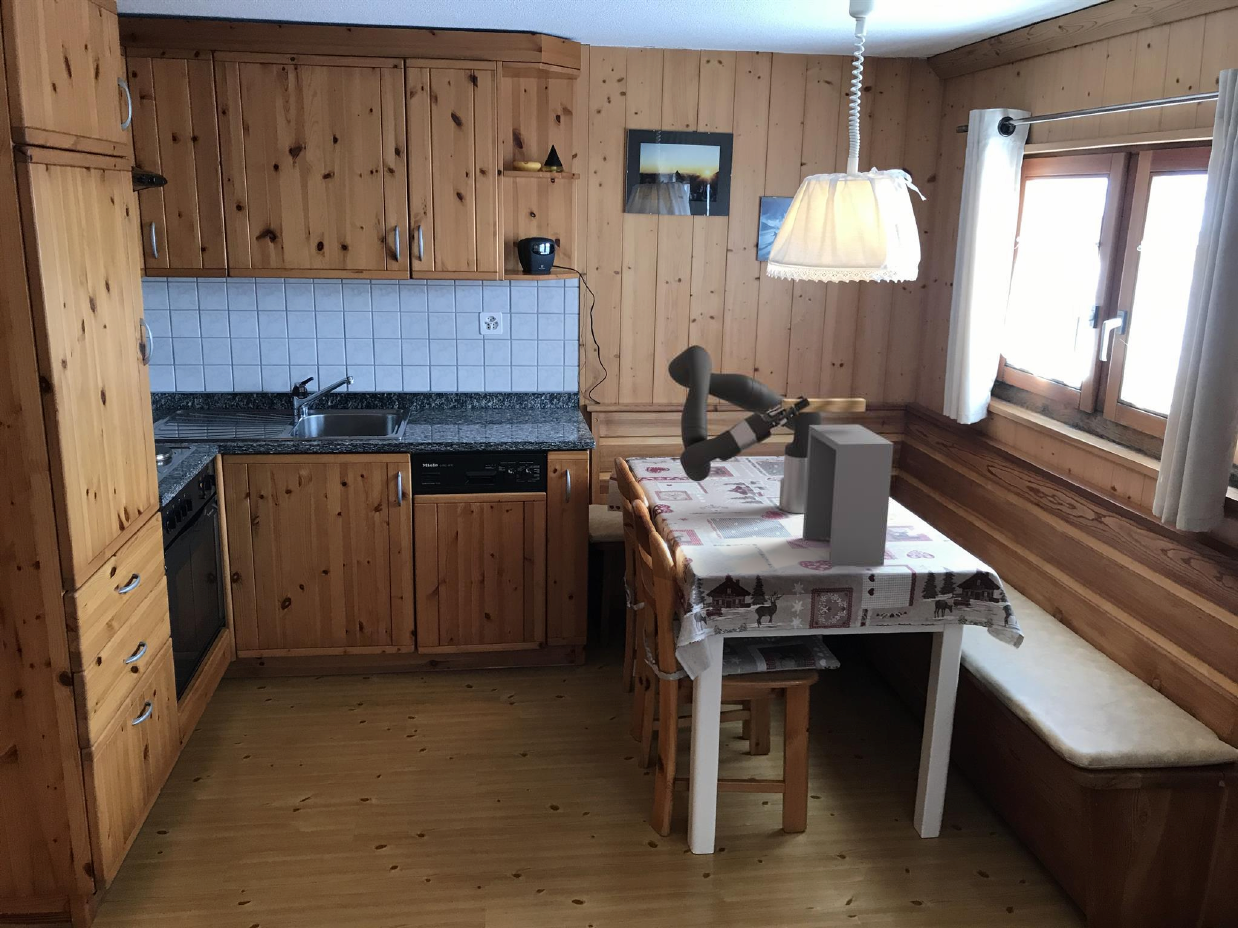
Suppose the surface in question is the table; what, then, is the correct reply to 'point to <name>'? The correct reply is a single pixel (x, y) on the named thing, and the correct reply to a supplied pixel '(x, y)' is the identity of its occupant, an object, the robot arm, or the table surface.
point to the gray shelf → (848, 492)
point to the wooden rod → (829, 405)
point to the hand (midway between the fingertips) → (805, 400)
